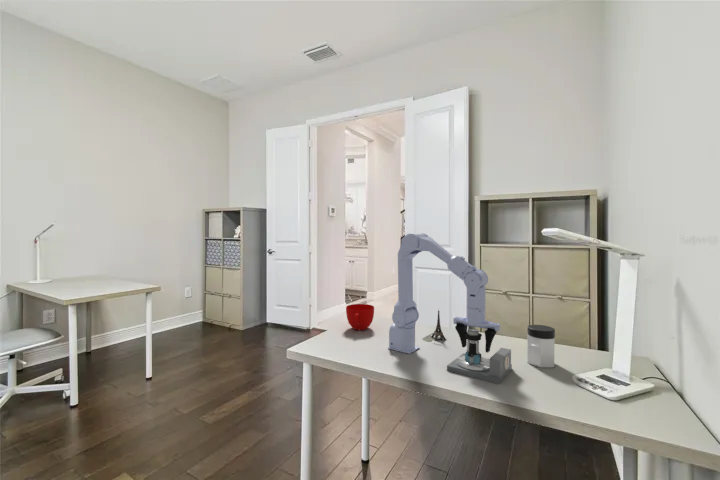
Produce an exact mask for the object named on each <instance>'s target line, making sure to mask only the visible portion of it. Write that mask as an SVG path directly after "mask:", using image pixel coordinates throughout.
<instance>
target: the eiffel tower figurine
mask: <svg viewBox="0 0 720 480" xmlns="http://www.w3.org/2000/svg"><path fill="white" fill-rule="evenodd" d="M436 321H437V322H436V326H435V330H434V331H433V332H431V333H430V334H429V335H426V336H424V337H423V338H421V340H422V341H424V342H427V343H431V342H433V341H434V342H443V341H447V338H446V337H445V335H444V332H443V331H442V328H441V327H442V326H441V318H440V310H439V309H438V311H437V320H436ZM434 342H433V345H438V346H440V344H438V343H434Z"/></svg>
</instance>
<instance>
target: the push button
mask: <svg viewBox="0 0 720 480" xmlns="http://www.w3.org/2000/svg"><path fill="white" fill-rule="evenodd" d="M482 336H483V334H482V333H480V331H479V330H478V329H467V332H465V338H466V339H467V345H466V347H467V349H466V352H465V353H464V354H465V361H469V362H472V363H473V362H474V363H478V364H479V363H480V362H484V361H481V359H483V360H486V359H484V358H485V357H484V358H481V357H482V353H480V344H479V343H480V341H481V340H482ZM484 363H486V362H484Z"/></svg>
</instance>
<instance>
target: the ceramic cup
mask: <svg viewBox="0 0 720 480" xmlns="http://www.w3.org/2000/svg"><path fill="white" fill-rule="evenodd" d="M345 309H346V310H345V311H346V312H345V313H346V318H347V321H348V324H349V326H351V327H352V329H353V328H354V329H357V330H356V331H365V330H364V329H366V330H367V329H368V328H369V327H370V326H371V325H372V323H373V320H374V315H375V306H374V305H372V304H367V303H354V304H349V305H346V306H345ZM354 329H353V330H354Z"/></svg>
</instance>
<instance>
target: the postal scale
mask: <svg viewBox="0 0 720 480" xmlns="http://www.w3.org/2000/svg"><path fill="white" fill-rule="evenodd" d="M481 358H484V359H486V360H483V359H481V361H484V362H486V363H484V362H480V363H479V364H478V363H474V362H473V363H472V362H469V361H465V353H462V354H460V355H459V356H457V357H456V358H455V359H454V360H452V361H451V362H449V364H447V365H446V371H448V372H452V373H456V374H460V375H463V376H466V377H472V378H475V379H479V380H483V381H486V382H490V383H493V384H497V385H500V383H501V382H503V380H504V379H505V378H506V376H507V375H508V374H509V373H510V372H511V370H512V369H513V367H512V366H513V365H512V364H513V363H512V349H510V348H503V347H500V348H499V349H498V350H497V351H496V352H495V353H494V354H493V355H492V356H490V358H487V357H483V356H481Z"/></svg>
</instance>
